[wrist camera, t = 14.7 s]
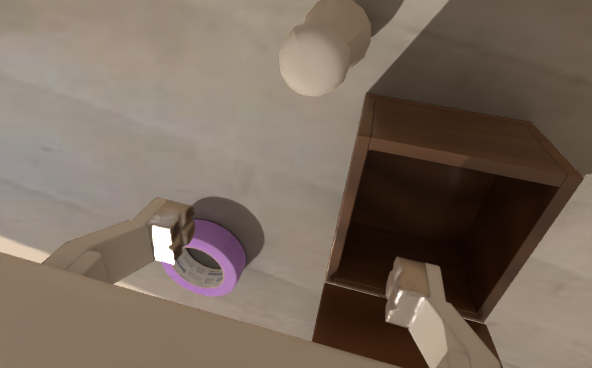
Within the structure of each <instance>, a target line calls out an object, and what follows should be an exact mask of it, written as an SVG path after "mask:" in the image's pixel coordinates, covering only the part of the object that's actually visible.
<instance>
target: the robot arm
mask: <svg viewBox="0 0 592 368" xmlns="http://www.w3.org/2000/svg"><path fill="white" fill-rule="evenodd" d="M193 215H194V208H193V207H192V206H189V205H186V204H182V203H178V202H175V201H171V200H166V199H163V198H159V197H158V198H155V199H154V200H153V201H152V202H151V203H150V204H149V205H148V206H147V207H146V208H144V209H143V210H142V211H141V212H140V213H139V214H138V215H137V216H136V217H135V218H134V219H133V220H132V221H130V220H127V221H125V222H122V223H119V224H116V225H113V226H111V227H108V228H105V229H102V230H99V231H97V232H94V233H91V234H88V235H85V236H83V237H80V238H77V239H74V240H71V241H69V242H66V243H65V244H64V245H62V246H61V247H60V248H59V249H58V250H57V251H55V252H54V253H53V254H52V255H51V256H49V257H48V258H47V259H46V260H45V261H44V262H42V263H41V264H40V263H36V262H33V261H30V260H26V259H23V258H19V257H15V256H12V255H9V254H5V253H1V252H0V368H402V367H398V366H395V365H391V364H388V363H384V362H381V361H377V360H374V359H370V358H367V357H363V356H360V355H356V354H353V353H350V352H346V351H343V350H339V349H336V348H332V347H329V346H325V345H322V344H318V343H315V342H311V341H308V340H304V339H301V338H297V337H294V336H290V335H287V334H283V333H280V332H276V331H273V330H270V329H266V328H263V327H259V326H256V325H252V324H249V323H245V322H242V321H238V320H235V319H231V318H228V317H224V316H221V315H217V314H214V313H210V312H207V311H204V310H200V309H197V308H193V307H190V306H186V305H183V304H179V303H176V302H172V301H169V300H165V299H162V298H158V297H155V296H151V295H148V294H144V293H141V292H137V291H134V290H130V289H127V288H124V287H120V286H116V285H113V284H114V283H116V282H118V281H120V280H121V279H123V278H125V277H127V276H128V275H130V274H132V273H133V272H135V271H137V270H139V269H140V268H142V267H144V266H146V265H147V264H149V263H151V262H153V261H154V259H155V260H159V261H163V262H167V263H171V264H175V262H176V261H177V260H178V258H179V257H180V256H181V254H182V253H183V248H182V247H184V246H186V245H189V243H190V242H191V240H192V238H193V236H194V233H195V222H194V220H193V219H192V217H193ZM386 297H387V299H388V301H387V304H386V306H385V322H389V323H392V324H395V325H399V326H402V327H405V328H409V331H410V333H411V335H412V337H413V339H414V340H415V342H416V344H417V346H418V348H419V350H420V351H421V353H422V355H423V357H424V359H425V360H426V362H427V364H428V366H429V368H501V366H500V362H499V361H498V360H497V358H496V357H495V356H494V355H493V354H492V352H491V351H490V350H489V349H488V348H487V346H486V345H485V344H484V343H483V342H482V340H481V339H480V338H479V337H478V336H477V334H476V333H475V332H474V331H473V330H472V329H471V327H470V326H469V325H468V324H467V323H466V321H465V320H464V319H463V318H462V317H461V315H460V314H459V313H458V312H457V311H456V309H455V308H454V307H453V306H452V305H451V303H448V302H446V298H445V293H444V287H443V281H442V276H441V270H440V267H439V266H437V265H433V264H428V263H423V262H419V261H415V260H411V259H407V258H402V257H398V256H397V257H396V259H395V261H394V263H393V270H392V271H390V273H389V276H388V280H387V284H386Z"/></svg>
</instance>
